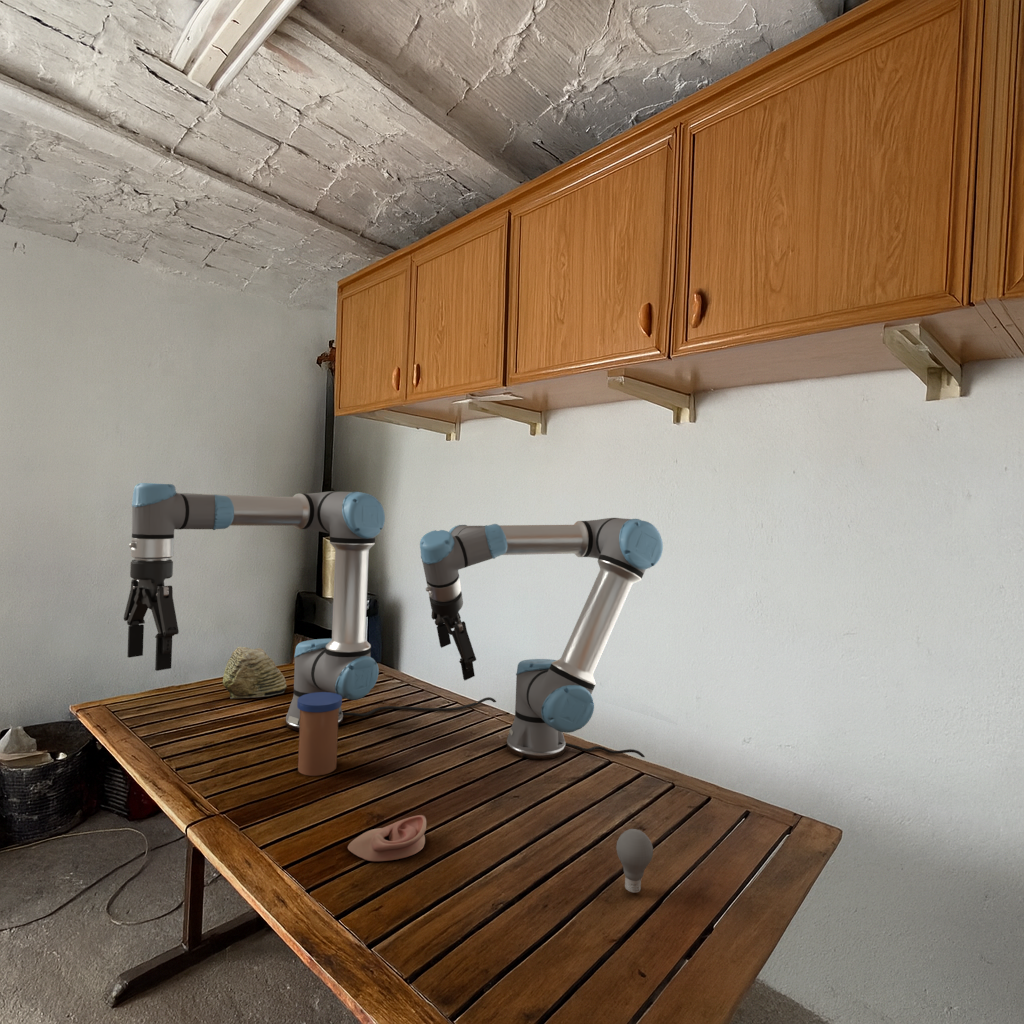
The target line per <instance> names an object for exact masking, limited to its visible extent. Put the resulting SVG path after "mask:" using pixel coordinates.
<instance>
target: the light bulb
mask: <svg viewBox="0 0 1024 1024" xmlns="http://www.w3.org/2000/svg"><path fill="white" fill-rule="evenodd" d="M615 849H616V854H617V857H618V859H619V861H620V863H621V865H622V867H623V873H624V874H623V875H624V876H625V878H624V888H625V890H627V891H628V892H630V893H634V894H635V893H639V892H640V891H641V889H642V887H641V886H642V879H643V877H644V875H645V871H646V868H647V867H648V866H649V864H650V863H651V861H652V859H653V855H654V847H653V843H652V841H651V838H649V836H648V835H647V834H646V833H645V832H643V831H642V830H641V829H636V828H629V829H627V830H625V831H623V832H622V833H621V834H620V835H619V837H618V839H617V841H616V847H615Z"/></svg>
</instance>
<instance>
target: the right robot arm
mask: <svg viewBox="0 0 1024 1024" xmlns="http://www.w3.org/2000/svg"><path fill="white" fill-rule="evenodd" d="M419 550H420V559H421V562H422V566H423V570H424V571H423V572H424V577H425V582H426V586H427V587H425V591H426V592H428V596H429V597H428V598H429V604H430V609H431V619H432V620H434V624H435V626H436V632H437V636H438V642H439V647H440V648H441V649H442V648H444V647H447V646H449V645H451V644H452V642H451V636H452V638H453V641H454V643H455V646H456V649H457V651H458V653H459V656H460V658H459V661H458V662H459V663H460V668H461V673H462V678H463V680H464V681H467V680H470V679H471V678H474V677H476V674H475V669H474V662H476V661H477V657H476V654H475V652H474V648H473V644H472V642H471V638H470V635H469V633H468V630H467V625H466V622H465V620H464V621H462V619H461V615H460V610H461V609H462V608H463V605H464V599H463V592H462V583H461V577H460V574H459V570H462V569H465V568H468V567H470V566H474V565H476V564H480V563H483V562H486V561H489V560H492V559H493V560H495V559H496V558H498V557H500V556H524V555H525V556H526V555H568V554H569V555H573V554H574V556H576V557H577V558H590V559H591V558H592V559H596V560H597V564H598V567H599V571H598V574H597V577H595V580H594V583H593V585H592V587H591V589H590V591H589V594H588V595H587V596H588V597H587V599H586V600H585V602H584V605H583V607H582V610H581V612H580V614H579V616H578V619H577V620H576V623H575V625H574V628H573V629H572V632H571V634H570V637H569V638H568V641H567V644H566V646H565V648H564V650H563V652H562V654H561V656H560V658H559V659H552V658H551V659H550V658H531V659H530V658H529V659H524V660H521V661H519V662H518V664H517V666H516V667H517V668H516V672H515V676H516V681H515V682H516V683H515V705H514V706H515V709H514V719H513V722H512V724H511V727H510V728H509V730H508V735H507V738H506V749H507V750H508V751H509V752H510V753H511V754H514V755H515V756H517V757H520V758H524V759H530V760H551V759H555V758H558V757H560V756H562V755H563V754H564V753H565V752H566V747H569V748H573V749H577V750H578V751H579V750H580V751H582V752H593V751H595V750H601V751H603V752H606V753H608V754H613V755H620V754H626V753H633V754H634V753H635V754H636V755H639V756H640V757H641V758H646V756H645V755H644V754H643V753H642V752H641V751H639V750H638V749H633V748H631V749H622V750H611V749H609V748H606V747H604V746H601V745H599V746H598V745H595V746H592V747H590V748H586V747H582V746H580V745H576V744H572V743H568V742H566V739H565V736H564V733H566V734H567V733H569V734H570V733H574V732H576V731H579V730H581V729H583V728H584V727H585V726H586V725H587V724H588V723H589V722H590V720H591V719H592V717H593V714H594V711H595V702H594V697H593V695H592V694H593V692H594V689H595V687H596V684H597V683H596V680H595V677H594V673H595V671H596V668H597V666H598V664H599V661H600V659H601V657H602V654H603V652H604V650H605V648H606V646H607V643H608V641H609V639H610V637H611V634H612V631H613V630H614V627H615V626H616V625H615V624H616V623H617V621H618V618H619V616H620V614H621V612H622V609H623V607H624V605H625V603H626V599H627V597H628V595H629V593H630V591H631V588H632V586H633V584H636V583H638V582H641V581H642V580H643V576H644V574H645V573H646V570H647V569H650V568H652V567H654V566H656V565H657V564H658V563H659V562H660V560H661V558H662V554H663V551H664V542H663V539H662V536H661V533H660V531H659V530H658V528H657V527H656V526H655V525H654V524H652V523H651V522H649V521H648V520H647V521H646V520H642V519H640V518H623V517H605V518H599V519H591V520H577V521H575V523H574V524H513V525H507V524H506V525H505V524H504V525H503V524H502V525H499V524H497V523H492V524H489V525H488V524H487V525H467V524H458V525H455V526H453V527H452V528H451V529H450V530H446V529H445V530H444V529H440V530H437V529H434V530H431V531H428V532H426V533H425V534H424V535H423V536H422V537H421V539H420V541H419ZM452 629H453V630H452Z"/></svg>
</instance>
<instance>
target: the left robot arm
mask: <svg viewBox="0 0 1024 1024" xmlns="http://www.w3.org/2000/svg"><path fill="white" fill-rule="evenodd" d="M385 515H386V513H385V511H384V508H383V505H382V503H381V502H380V501H379V500H378V498H377V497H375V495H373V494H370V493H367V492H363V491H362V492H361V491H337V490H336V491H335V490H333V491H332V490H330V491H321V492H311V493H295V494H294V495H293V496H276V495H275V496H274V495H273V496H272V495H248V494H247V495H246V494H244V495H243V494H220V493H219V494H218V493H217V494H216V493H215V494H214V493H189V492H187V493H186V492H177V491H176V486H175V485H174V484H173V483H152V482H139V483H137V484H136V485H135V486H134V488H133V492H132V501H131V520H132V521H131V542H130V543H128V547H129V548H130V549H131V550H130V556H131V558H133V559H132V560H131V561H130V567H129V568H130V571H129V574H130V575H129V576H130V578H131V581H130V590H129V594H128V598H127V603H126V607H125V610H124V615H123V621H124V622H126V624H127V626H128V629H127V630H128V631H127V658H135V657H142V656H144V635H145V634H144V630H145V625H144V624H145V623H146V621H145V619H144V618H145V616H146V615H147V612H148V609H149V610H151V613H152V618H153V620H154V624H155V627H156V631H157V633H156V635H155V636H154V638H155V661H154V663H155V665H154V668H155V669H154V670H155V671H157V672H159V671H164V670H169V669H172V659H173V657H172V655H173V637H175V636H176V635H179V632H180V631H179V625H178V619H177V615H176V614H177V613H176V609H175V603H174V597H173V595H174V593H173V585H165V580H167V579H171V578H172V577H173V575H174V573H173V572H174V561H173V560H172V559H171V558H173V557H174V554H175V553H174V552H175V530H213V531H215V530H224V529H228V528H230V526H233V527H234V526H237V527H238V526H240V527H243V526H246V527H247V526H249V527H250V526H258V527H259V526H268V527H269V526H276V527H277V526H282V527H284V526H285V527H286V526H287V527H288V526H289V527H290V526H291V527H293V528H294V529H296V530H308V531H309V530H310V531H316V532H319V533H325V534H329V544H330V545H331V546H332V547H333V548H334V550H335V551H334V572H333V573H334V577H333V599H332V625H331V626H332V627H331V638H317V639H308V640H304V641H300V642H299V643H297V645H296V646H295V650H294V655H293V657H294V672H293V673H294V674H293V695H292V696H293V697H292V699H291V702H290V704H289V708H288V711H287V713H286V715H285V726H286V728H287V729H289V730H291V731H294V732H295V731H296V732H299V724H300V709H298V707H297V701H298V698H299V697H300V696H302V695H305V694H309V693H315V692H331V693H336V694H339V695H341V696H342V700H343V699H344V700H348V701H349V700H350V701H357V700H360V699H362V698H364V697H365V696H367V695H368V694H370V692H371V690H372V689H374V687H375V685H376V683H377V682H378V678H379V674H380V672H379V671H380V670H379V669H380V668H379V665H378V663H377V662H376V660H375V659H374V657H371V652H372V649H371V648H372V644H371V643H370V642H368V640H367V639H366V631H367V607H368V606H367V605H368V604H367V602H368V582H369V581H368V579H369V555H370V553H369V552H370V550H371V548H372V547H374V545H375V544H376V536H378V535H379V534H380V533H381V530H383V528H384V526H385V522H386V521H385V520H386V516H385ZM486 701H491V702H493V703H497V700H496V698H493V697H490V696H489V697H484V698H482V699H480V700H478V701H474V702H472V703H468V704H465V705H461V706H456V707H418V706H401V705H400V706H398V705H385V706H380V707H375V708H373V709H371V710H369V711H367V712H363V713H362V712H361V713H357V712H346V711H345V712H343V709H342V706H341V707H339V719H338V727H339V726H340V725H342V723H343V722H344V716H345V717H347V716H348V717H357V718H361V717H362V718H363V717H368V716H370V715H372V714H374V713H377V712H379V711H384V710H402V711H404V710H405V711H406V710H407V711H420V712H421V711H423V712H454V711H459V710H466V709H468V708H472V707H475V706H478V705H480V704H482V703H484V702H486ZM476 702H478V703H476Z"/></svg>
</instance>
